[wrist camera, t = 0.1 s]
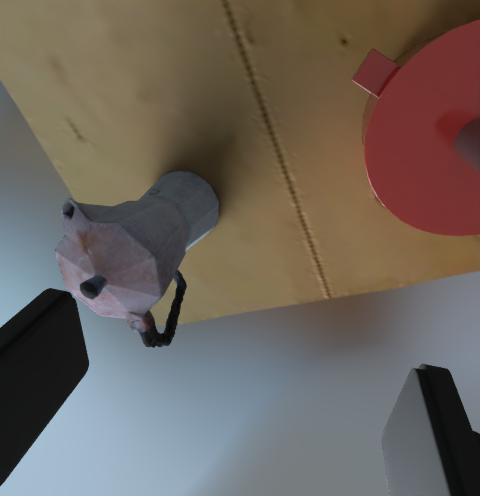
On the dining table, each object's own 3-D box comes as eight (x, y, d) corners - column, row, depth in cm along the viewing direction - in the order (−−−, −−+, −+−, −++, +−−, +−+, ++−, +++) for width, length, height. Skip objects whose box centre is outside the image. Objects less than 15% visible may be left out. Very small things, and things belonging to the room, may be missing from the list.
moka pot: (185, 130, 39) (73, 192, 22) (251, 243, 44) (203, 366, 27) (123, 168, 43) (-12, 246, 26) (191, 268, 48) (116, 389, 31)
